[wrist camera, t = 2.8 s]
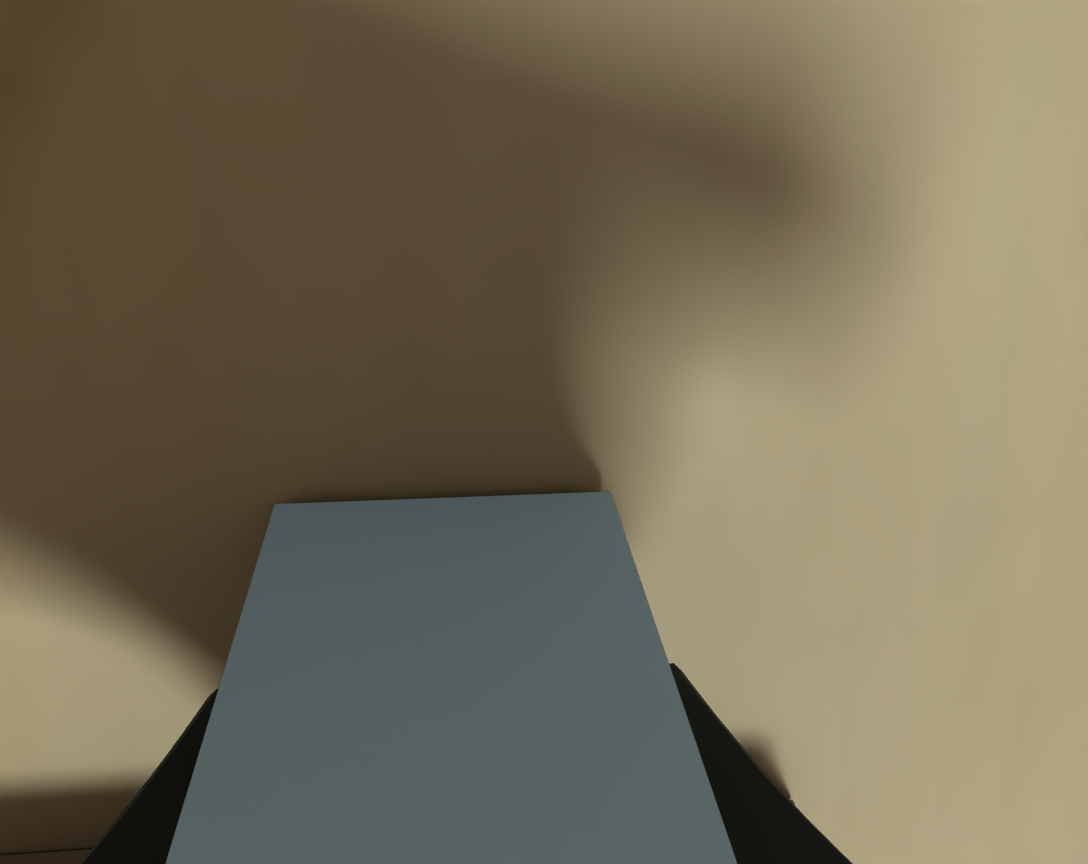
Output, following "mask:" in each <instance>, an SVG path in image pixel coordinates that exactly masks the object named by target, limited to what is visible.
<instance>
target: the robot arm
mask: <svg viewBox="0 0 1088 864" xmlns="http://www.w3.org/2000/svg"><path fill="white" fill-rule="evenodd" d="M669 665H670V668H671V671H672V674H673V677H674V680H675V683H676V686H677V689H678V692H679V695H680V697H681V700H682V703H683V706H684V709H685V712H686V715H687V718H688V721H689V724H690V727H691V730H692V733H693V736H694V738H695V741H696V744H697V747H698V750H699V753H700V756H701V759H702V762H703V765H704V768H705V771H706V774H707V777H708V779H709V782H710V785H711V788H712V791H713V794H714V797H715V800H716V803H717V806H718V809H719V812H720V815H721V818H722V820H723V823H724V826H725V829H726V832H727V835H728V838H729V841H730V844H731V847H732V850H733V853H734V856H735V859H736V862H737V864H852V863H851V862H850V861H849V860H848V859H847V858H846V857H845V856H844V855H843V854H842V853H841V852H840V851H839V850H838V849H837V848H836V847H835V846H834V845H833V844H832V843H831V842H830V841H829V840H828V839H827V838H826V837H825V836H824V835H823V834H822V833H821V832H820V831H819V830H818V829H817V828H816V827H815V826H814V825H813V824H812V823H811V822H810V821H809V820H808V819H807V818H806V817H805V816H804V815H803V814H802V813H801V812H800V811H799V809H798V808H797V807H796V806H795V805H794V804H793V803H792V802H791V801H790V800H789V799H788V798H787V797H786V796H785V794H784V793H783V792H782V791H781V790H780V789H779V788H778V787H777V786H776V784H775V783H774V782H773V781H772V780H771V779H770V778H769V777H768V776H767V774H766V773H765V772H764V771H763V770H762V769H761V768H760V767H759V766H758V764H757V763H756V762H755V761H754V760H753V759H752V758H751V756H750V755H749V754H748V753H747V752H746V751H745V749H744V748H743V747H742V746H741V745H740V744H739V742H738V741H737V740H736V739H735V738H734V736H733V735H732V734H731V733H730V732H729V730H728V729H727V728H726V727H725V725H724V724H723V723H722V722H721V721H720V719H719V718H718V717H717V716H716V714H715V713H714V712H713V711H712V709H711V708H710V707H709V706H708V704H707V703H706V702H705V701H704V699H703V698H702V697H701V695H700V694H699V693H698V692H697V690H696V689H695V688H694V686H693V685H692V684H691V682H690V681H689V680H688V678H687V677H686V676H685V675H684V673H683V672H682V671H681V670H680V669H679V668H678V667H677V666H676V665H675V664H674V663H672V664H669ZM217 692H218V689H216V690H215V691H214V692H213V693H212V694H211V695H210V696H209V697H208V698H207V700H206V701H205V703H204V704H203V705H202V707H201V708H200V710H199V711H198V712H197V714H196V715H195V717H194V718H193V719H192V721H191V722H190V724H189V725H188V726H187V728H186V729H185V731H184V732H183V733H182V735H181V736H180V738H179V739H178V740H177V742H176V743H175V744H174V746H173V747H172V749H171V750H170V751H169V753H168V754H167V755H166V757H165V758H164V759H163V761H162V762H161V763H160V765H159V766H158V767H157V769H156V770H155V771H154V773H153V774H152V775H151V777H150V778H149V779H148V780H147V782H146V783H145V784H144V786H143V787H142V788H141V789H140V791H139V792H138V793H137V794H136V796H135V797H134V798H133V799H132V801H131V802H130V803H129V804H128V806H127V807H126V808H125V809H124V811H123V812H122V813H121V814H120V816H119V817H118V818H117V819H116V821H115V822H114V823H113V825H112V826H111V827H110V828H109V830H108V831H107V832H106V833H105V834H104V836H103V837H102V838H101V839H100V840H99V842H98V843H97V844H96V845H95V846H94V848H93V849H92V850H91V851H90V852H89V853H88V854H87V856H86V857H85V858H84V859H83V860H82V861H81V862H80V864H166V861H167V857H168V854H169V851H170V847H171V844H172V841H173V837H174V834H175V831H176V828H177V824H178V821H179V818H180V814H181V811H182V808H183V805H184V801H185V798H186V795H187V791H188V788H189V785H190V781H191V778H192V775H193V772H194V768H195V765H196V762H197V758H198V755H199V752H200V748H201V745H202V742H203V739H204V735H205V732H206V729H207V725H208V722H209V719H210V715H211V712H212V709H213V706H214V702H215V699H216V696H217Z"/></svg>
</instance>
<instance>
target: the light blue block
mask: <svg viewBox="0 0 1088 864" xmlns="http://www.w3.org/2000/svg"><path fill="white" fill-rule="evenodd" d="M166 864H737V862H736V859H735V856H734V853H733V850H732V847H731V844H730V841H729V838H728V835H727V832H726V829H725V826H724V823H723V820H722V818H721V815H720V812H719V809H718V806H717V803H716V800H715V797H714V794H713V791H712V788H711V785H710V782H709V779H708V777H707V774H706V771H705V768H704V765H703V762H702V759H701V756H700V753H699V750H698V747H697V744H696V741H695V738H694V736H693V733H692V730H691V727H690V724H689V721H688V718H687V715H686V712H685V709H684V706H683V703H682V700H681V697H680V695H679V692H678V689H677V686H676V683H675V680H674V677H673V674H672V671H671V668H670V665H669V662H668V659H667V656H666V654H665V651H664V648H663V645H662V642H661V639H660V636H659V633H658V630H657V627H656V624H655V621H654V618H653V615H652V613H651V610H650V607H649V604H648V601H647V598H646V595H645V592H644V589H643V586H642V583H641V580H640V577H639V574H638V571H637V569H636V566H635V563H634V560H633V557H632V554H631V551H630V548H629V545H628V542H627V539H626V536H625V533H624V530H623V528H622V525H621V522H620V519H619V516H618V513H617V510H616V507H615V504H614V501H613V498H612V495H611V492H584V493H557V494H530V495H504V496H477V497H451V498H424V499H398V500H371V501H344V502H318V503H291V504H274V508H273V511H272V514H271V518H270V521H269V524H268V528H267V531H266V534H265V537H264V541H263V544H262V547H261V551H260V554H259V557H258V560H257V564H256V567H255V570H254V574H253V577H252V580H251V584H250V587H249V590H248V593H247V597H246V600H245V603H244V607H243V610H242V613H241V617H240V620H239V623H238V626H237V630H236V633H235V636H234V640H233V643H232V646H231V650H230V653H229V656H228V659H227V663H226V666H225V669H224V673H223V676H222V679H221V683H220V686H219V689H218V692H217V696H216V699H215V702H214V706H213V709H212V712H211V715H210V719H209V722H208V725H207V729H206V732H205V735H204V739H203V742H202V745H201V748H200V752H199V755H198V758H197V762H196V765H195V768H194V772H193V775H192V778H191V781H190V785H189V788H188V791H187V795H186V798H185V801H184V805H183V808H182V811H181V814H180V818H179V821H178V824H177V828H176V831H175V834H174V837H173V841H172V844H171V847H170V851H169V854H168V857H167V861H166Z"/></svg>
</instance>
